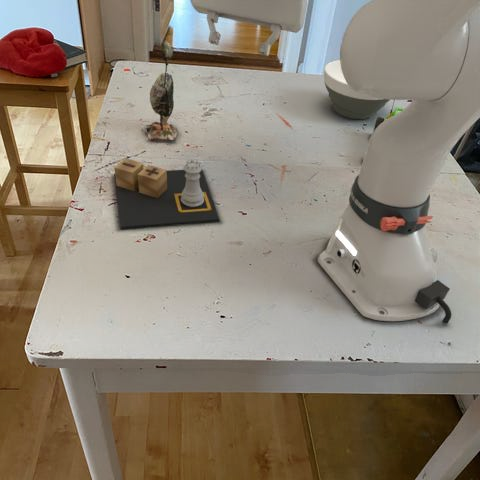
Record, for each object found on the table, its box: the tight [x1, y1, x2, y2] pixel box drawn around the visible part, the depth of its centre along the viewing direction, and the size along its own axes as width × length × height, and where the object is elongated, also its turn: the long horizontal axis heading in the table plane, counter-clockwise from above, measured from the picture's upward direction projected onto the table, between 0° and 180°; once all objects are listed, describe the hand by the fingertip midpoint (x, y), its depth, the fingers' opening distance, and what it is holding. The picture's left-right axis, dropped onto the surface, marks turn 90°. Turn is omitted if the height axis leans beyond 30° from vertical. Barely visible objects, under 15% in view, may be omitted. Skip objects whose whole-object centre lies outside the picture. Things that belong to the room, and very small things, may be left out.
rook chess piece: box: [181, 159, 204, 207], centre depth 88 cm, size 4×4×8 cm
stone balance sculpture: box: [144, 40, 179, 142], centre depth 102 cm, size 8×11×20 cm
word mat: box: [113, 169, 220, 230], centre depth 91 cm, size 18×18×1 cm
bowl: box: [323, 59, 390, 120], centre depth 123 cm, size 20×20×10 cm
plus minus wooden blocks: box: [114, 157, 168, 198], centre depth 91 cm, size 4×9×4 cm, turn 68°
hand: (238, 49), depth 84 cm, fingers open, 8 cm apart
